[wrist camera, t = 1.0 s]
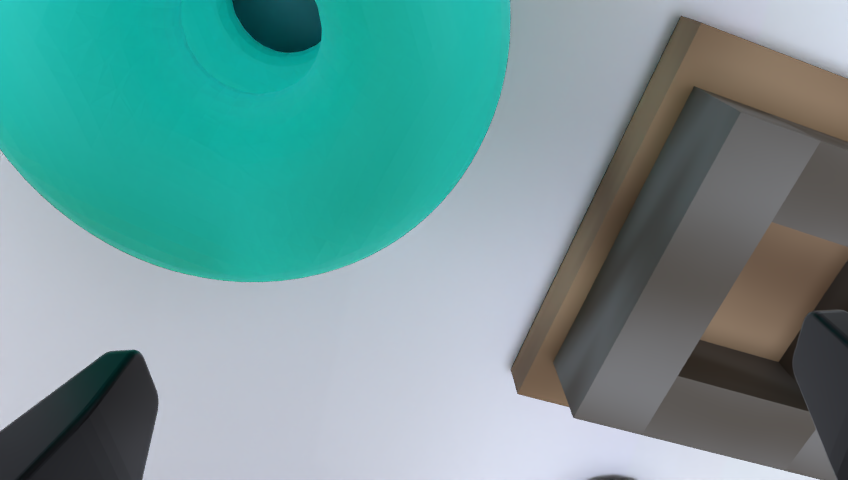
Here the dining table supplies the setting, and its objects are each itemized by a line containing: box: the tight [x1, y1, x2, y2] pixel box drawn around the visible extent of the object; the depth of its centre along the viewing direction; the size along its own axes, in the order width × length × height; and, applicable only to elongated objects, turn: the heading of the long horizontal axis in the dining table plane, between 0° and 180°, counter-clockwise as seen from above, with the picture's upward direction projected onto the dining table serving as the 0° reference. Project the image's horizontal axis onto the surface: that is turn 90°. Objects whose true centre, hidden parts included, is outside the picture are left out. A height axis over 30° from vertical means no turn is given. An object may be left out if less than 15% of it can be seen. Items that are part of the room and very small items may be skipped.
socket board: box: [511, 16, 848, 480], centre depth 23 cm, size 14×12×4 cm
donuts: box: [0, 0, 511, 282], centre depth 16 cm, size 10×10×10 cm
